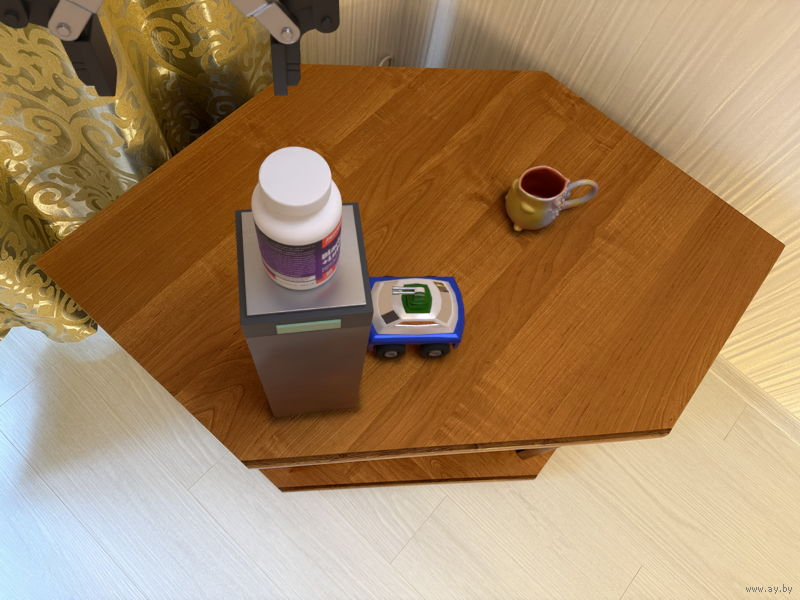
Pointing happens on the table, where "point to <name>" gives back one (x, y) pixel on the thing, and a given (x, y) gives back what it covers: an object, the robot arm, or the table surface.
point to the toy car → (415, 315)
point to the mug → (542, 197)
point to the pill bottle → (297, 218)
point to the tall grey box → (307, 324)
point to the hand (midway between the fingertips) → (196, 83)
